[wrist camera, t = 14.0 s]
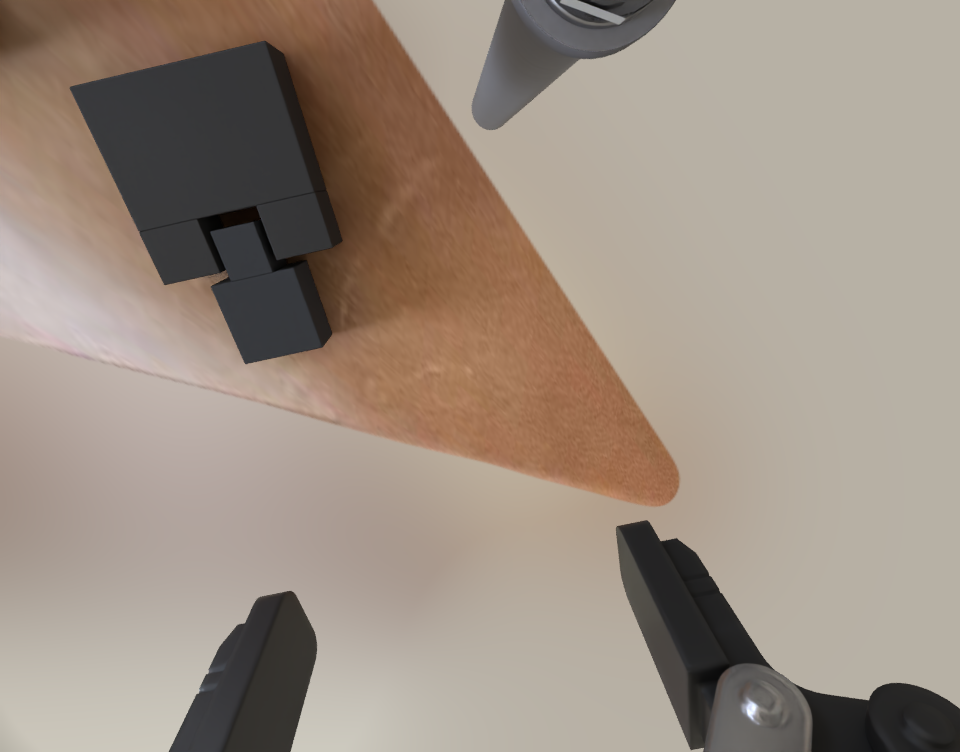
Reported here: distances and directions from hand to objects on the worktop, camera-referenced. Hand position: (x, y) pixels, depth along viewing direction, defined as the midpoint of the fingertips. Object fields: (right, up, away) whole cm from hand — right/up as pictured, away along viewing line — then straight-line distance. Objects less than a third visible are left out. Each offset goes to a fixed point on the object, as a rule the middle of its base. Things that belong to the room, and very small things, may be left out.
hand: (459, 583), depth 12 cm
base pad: (-17, +19, +21) cm, 33 cm away
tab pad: (-15, +12, +24) cm, 31 cm away
